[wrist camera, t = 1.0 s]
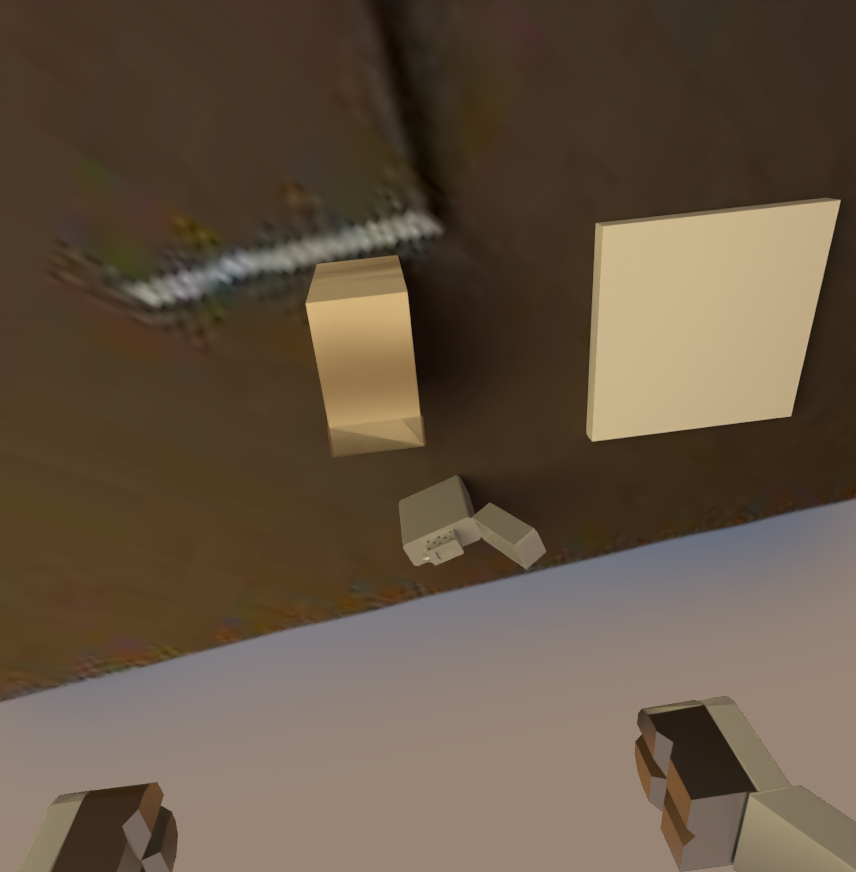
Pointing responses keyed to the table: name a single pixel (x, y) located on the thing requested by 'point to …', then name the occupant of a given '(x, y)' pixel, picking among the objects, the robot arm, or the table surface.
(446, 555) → the lighter
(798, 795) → the robot arm
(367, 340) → the block
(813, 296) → the tile
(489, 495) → the table surface
